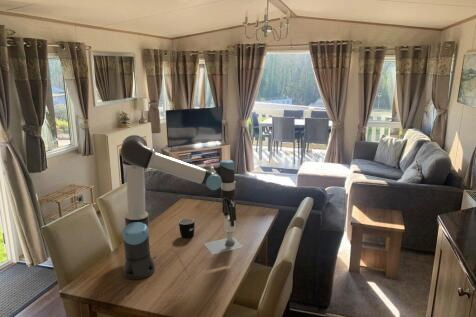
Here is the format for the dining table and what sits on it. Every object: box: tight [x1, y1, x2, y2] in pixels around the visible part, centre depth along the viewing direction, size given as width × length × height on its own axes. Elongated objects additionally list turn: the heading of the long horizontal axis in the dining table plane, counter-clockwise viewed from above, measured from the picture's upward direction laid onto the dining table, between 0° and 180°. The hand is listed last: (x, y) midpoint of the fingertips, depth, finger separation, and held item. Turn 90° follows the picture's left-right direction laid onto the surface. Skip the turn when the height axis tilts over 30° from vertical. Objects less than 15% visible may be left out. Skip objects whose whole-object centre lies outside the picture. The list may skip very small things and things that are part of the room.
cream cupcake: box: [223, 216, 237, 233], centre depth 197 cm, size 6×6×7 cm
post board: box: [203, 232, 244, 255], centre depth 197 cm, size 18×14×8 cm
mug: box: [178, 217, 196, 239], centre depth 211 cm, size 12×9×10 cm
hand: (229, 228), depth 197 cm, fingers closed on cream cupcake, 6 cm apart
